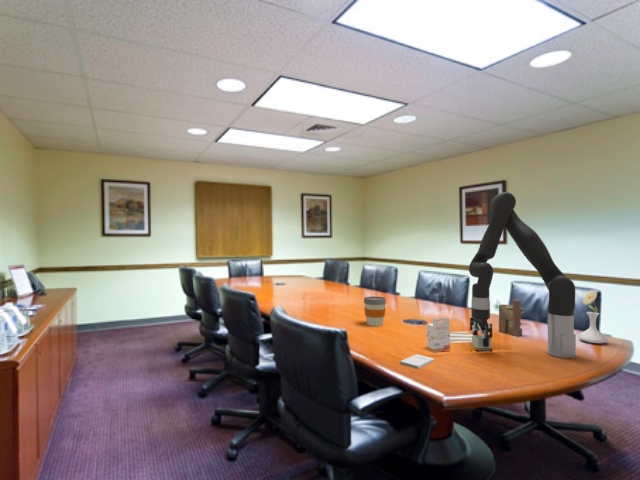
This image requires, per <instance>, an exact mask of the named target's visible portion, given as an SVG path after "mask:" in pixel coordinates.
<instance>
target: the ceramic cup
mask: <svg viewBox="0 0 640 480" xmlns="http://www.w3.org/2000/svg"><path fill="white" fill-rule="evenodd" d="M503 305H504V306H505V307H506V308H507V310H508V311H509V312H510V314H511V315H512V305H513V304H503ZM521 309H522V312H521V315H522V314H524V312H525V308H523V307H521ZM509 326H512V321H510V320H509Z"/></svg>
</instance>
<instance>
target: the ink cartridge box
mask: <svg viewBox="0 0 640 480" xmlns="http://www.w3.org/2000/svg"><path fill="white" fill-rule="evenodd" d="M450 327H451V326H450V318H449V317H441V318H432V323H426V333H427V334H426V338H427V339H426V346H427V348H428V349H431V350H432V351H430V353H433V354H435V353H445V352H449V350H445V349H451V343H450V332H451V329H450Z"/></svg>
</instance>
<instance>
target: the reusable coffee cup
mask: <svg viewBox="0 0 640 480" xmlns="http://www.w3.org/2000/svg"><path fill="white" fill-rule="evenodd" d="M386 300H387V299H386V297H384V296H366V297H364V298H363V303H364V315H365V317H366V319H365V320H366V325H367V326H370V327H381V326H383V325H384V318H385V314H386V304H387V301H386Z"/></svg>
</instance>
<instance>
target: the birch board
mask: <svg viewBox="0 0 640 480" xmlns="http://www.w3.org/2000/svg"><path fill="white" fill-rule="evenodd" d="M425 334H426V335H427V332H425ZM472 335H473V333H472V332H471V333H470V332H469V331H450V344H454V343H456V344H457V343H472Z"/></svg>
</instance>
